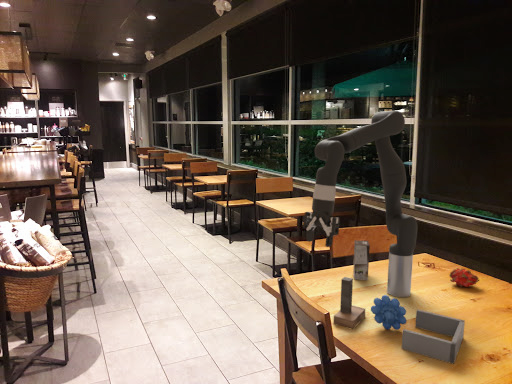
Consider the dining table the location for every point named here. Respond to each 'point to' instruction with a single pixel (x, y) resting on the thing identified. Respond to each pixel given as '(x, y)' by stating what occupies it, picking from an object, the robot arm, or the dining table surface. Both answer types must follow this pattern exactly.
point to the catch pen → (432, 344)
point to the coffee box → (361, 260)
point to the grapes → (389, 312)
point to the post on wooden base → (348, 307)
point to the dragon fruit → (463, 277)
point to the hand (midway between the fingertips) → (318, 244)
